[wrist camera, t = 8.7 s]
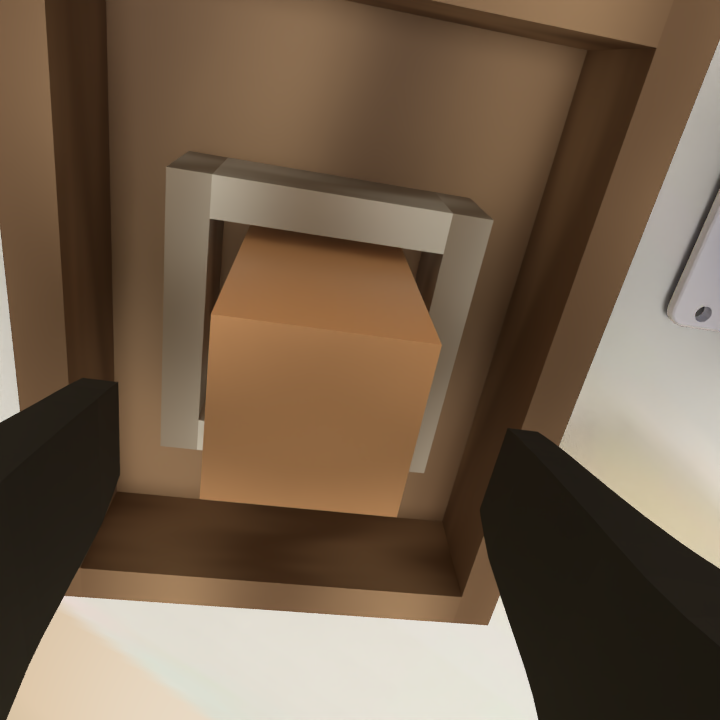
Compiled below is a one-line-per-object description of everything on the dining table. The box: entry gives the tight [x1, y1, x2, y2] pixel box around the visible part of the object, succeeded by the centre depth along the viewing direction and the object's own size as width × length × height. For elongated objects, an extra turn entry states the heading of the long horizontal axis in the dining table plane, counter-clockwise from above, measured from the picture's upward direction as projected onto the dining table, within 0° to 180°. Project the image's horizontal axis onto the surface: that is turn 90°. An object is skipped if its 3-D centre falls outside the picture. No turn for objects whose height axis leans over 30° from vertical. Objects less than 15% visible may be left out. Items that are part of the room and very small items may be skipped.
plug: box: [200, 225, 442, 517], centre depth 14 cm, size 4×4×7 cm
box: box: [0, 0, 720, 625], centre depth 16 cm, size 14×18×4 cm
